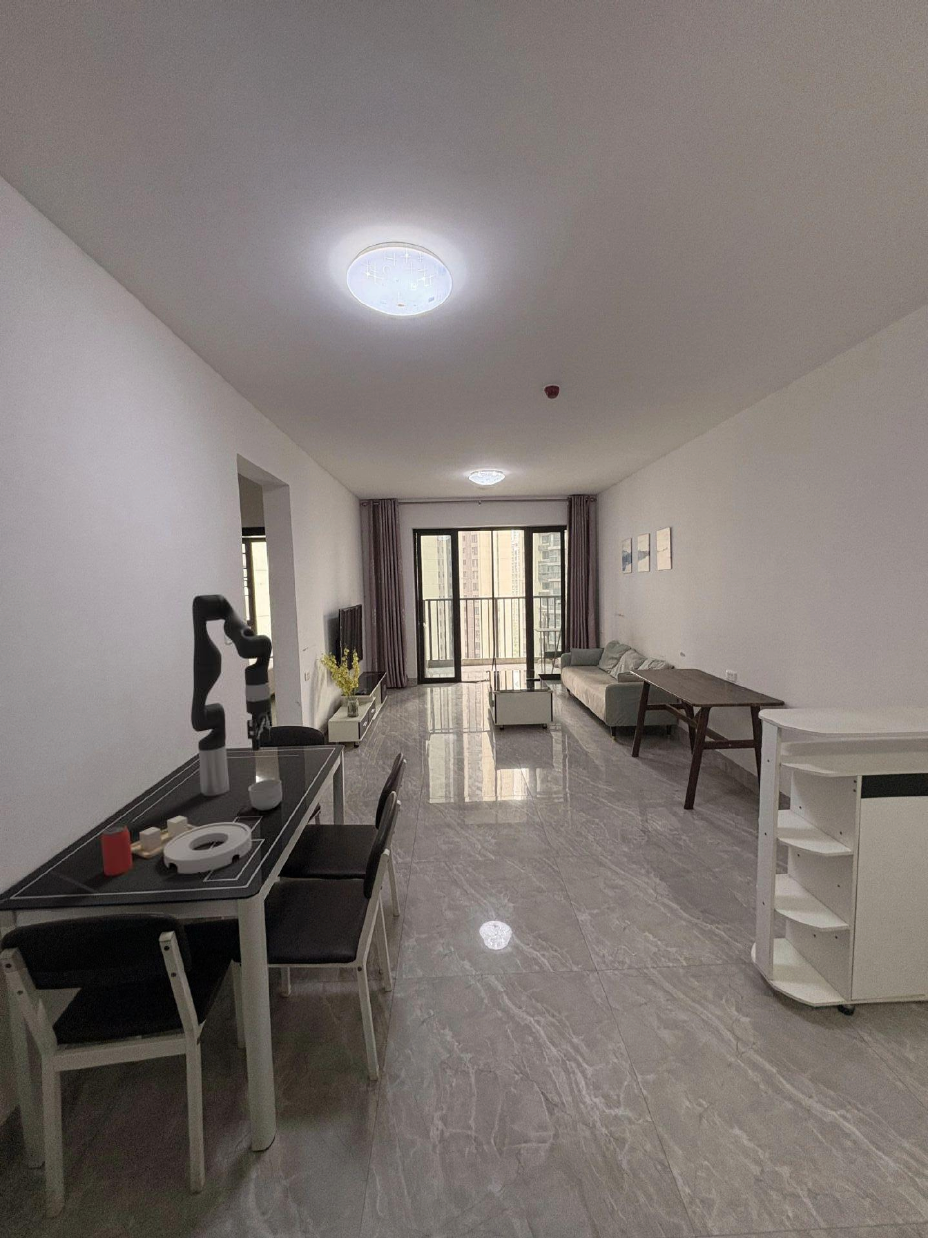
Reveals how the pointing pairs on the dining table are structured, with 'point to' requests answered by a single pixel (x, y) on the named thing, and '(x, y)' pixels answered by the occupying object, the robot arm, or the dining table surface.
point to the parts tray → (148, 854)
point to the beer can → (116, 850)
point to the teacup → (265, 794)
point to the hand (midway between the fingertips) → (261, 746)
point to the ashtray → (210, 859)
